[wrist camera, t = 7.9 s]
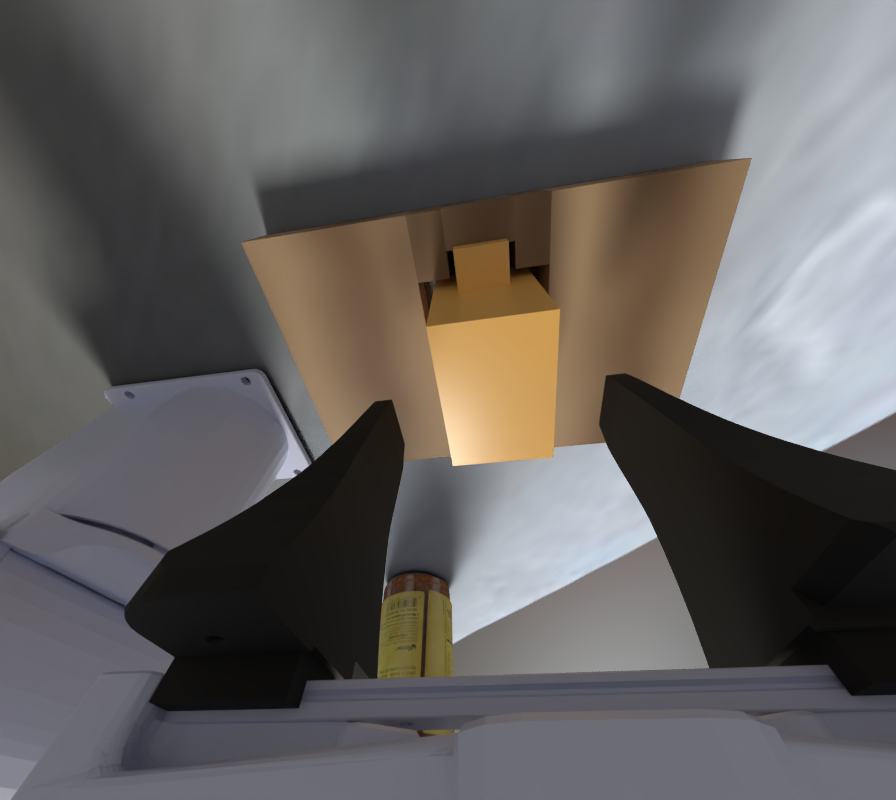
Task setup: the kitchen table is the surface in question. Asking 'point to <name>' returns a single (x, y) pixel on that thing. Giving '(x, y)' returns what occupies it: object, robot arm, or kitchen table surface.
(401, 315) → the pocket board
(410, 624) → the sauce bottle
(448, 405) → the block
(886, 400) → the kitchen table surface
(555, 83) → the kitchen table surface
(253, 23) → the kitchen table surface
